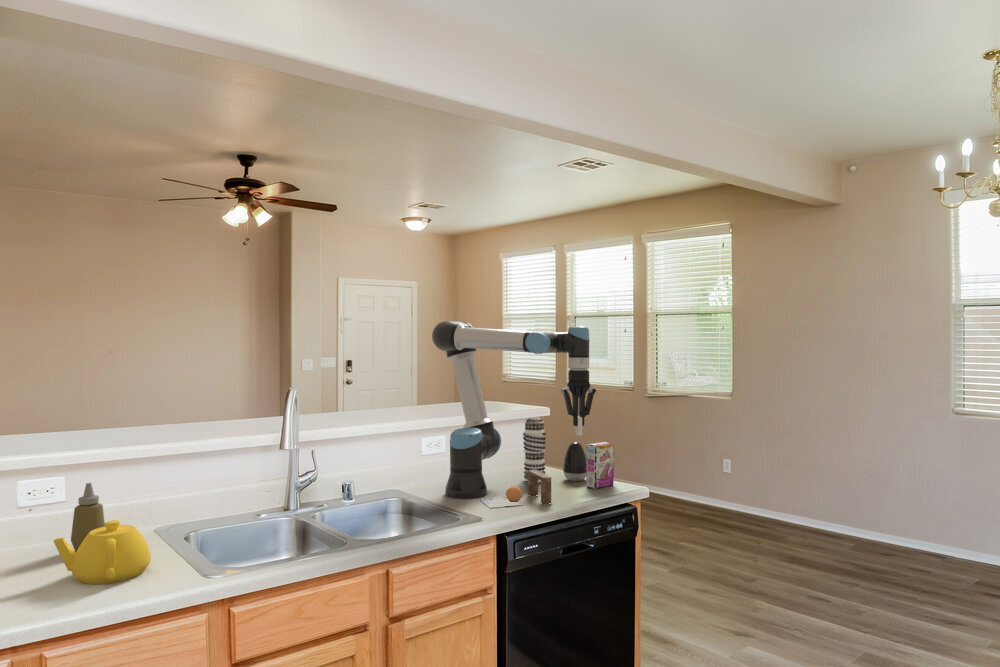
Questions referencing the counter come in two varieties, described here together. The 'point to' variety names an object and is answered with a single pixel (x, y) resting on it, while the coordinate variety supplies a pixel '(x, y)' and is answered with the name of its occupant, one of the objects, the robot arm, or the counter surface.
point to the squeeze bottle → (86, 516)
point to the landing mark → (488, 502)
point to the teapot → (107, 554)
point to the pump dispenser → (575, 462)
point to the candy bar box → (600, 465)
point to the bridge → (545, 485)
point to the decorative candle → (534, 445)
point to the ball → (513, 494)
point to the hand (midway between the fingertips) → (578, 434)
